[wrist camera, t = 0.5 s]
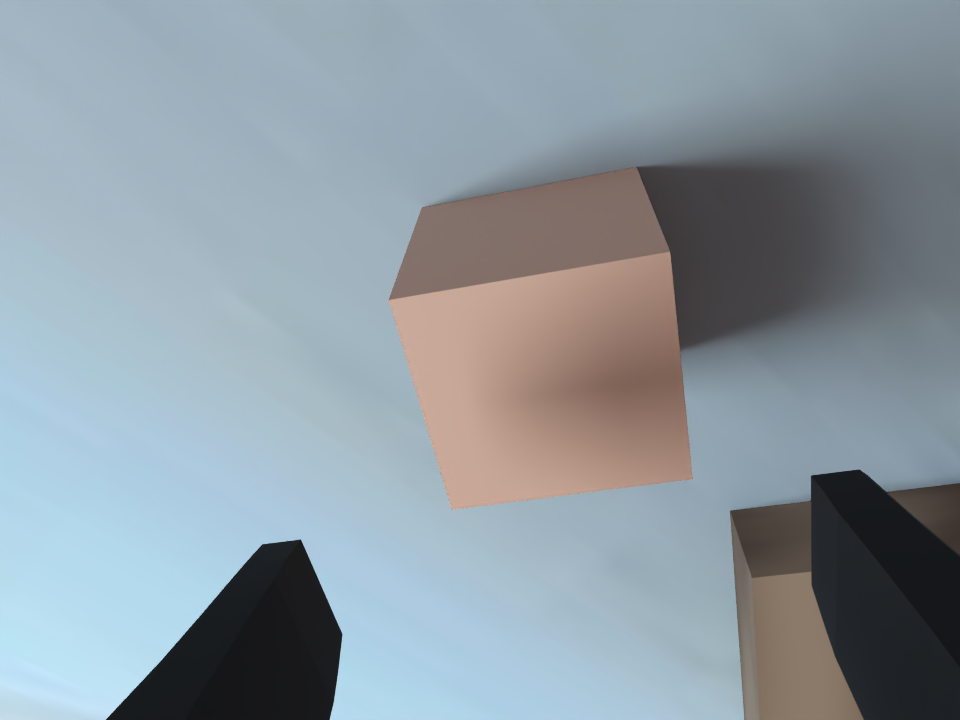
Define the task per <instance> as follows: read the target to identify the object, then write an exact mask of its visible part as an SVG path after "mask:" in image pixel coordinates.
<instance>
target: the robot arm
mask: <svg viewBox="0 0 960 720" xmlns="http://www.w3.org/2000/svg"><path fill="white" fill-rule="evenodd" d="M811 585H812V588H813V592H814V595H815V598H816V601H817V604H818V607H819V610H820V613H821V616H822V620H823V623H824V626H825V629H826V632H827V635H828V637H829V640H830V643H831V646H832V649H833V652H834V655H835V658H836V660H837V662H838V664H839V667H840V669H841V671H842V673H843V676H844V678H845V680H846V682H847V684H848V686H849V689H850V691H851V693H852V695H853V697H854V700H855V702H856V704H857V706H858V708H859V710H860V713H861V715H862V717H863V719H864V720H960V555H959V554H958V553H957V552H955V551H954V550H953V549H952V548H951V547H949V546H948V545H947V544H946V543H945V542H943V541H942V540H941V539H940V538H939V537H937V536H936V535H935V534H934V533H933V532H932V531H930V530H929V529H928V528H927V527H926V526H925V525H923V524H922V523H921V522H920V521H919V520H918V519H916V518H915V517H914V516H913V515H912V514H911V513H910V512H908V511H907V510H906V509H905V508H904V507H903V506H902V505H900V504H899V503H898V502H897V501H896V500H895V499H894V498H892V497H891V496H890V495H889V494H888V493H887V492H886V491H885V490H883V489H882V488H881V487H880V486H879V485H878V484H877V483H876V482H874V481H873V480H872V479H871V478H870V477H869V476H868V475H866V474H865V473H864V472H862V471H861V470H852V471H844V472H836V473H828V474H820V475H812V476H811ZM341 642H342V632H341V630H340V628H339V626H338V623H337V621H336V619H335V616H334V614H333V612H332V610H331V607H330V605H329V603H328V600H327V598H326V596H325V594H324V591H323V589H322V587H321V584H320V582H319V580H318V578H317V575H316V573H315V571H314V568H313V566H312V564H311V562H310V559H309V557H308V555H307V552H306V550H305V548H304V546H303V543H302V541H301V540H294V541H286V542H278V543H270V544H262V546H261V547H260V548H259V549H258V550H257V551H256V552H255V553H254V554H253V555H252V556H251V558H250V559H249V560H248V561H247V562H246V563H245V564H244V565H243V567H242V568H241V569H240V570H239V571H238V572H237V574H236V575H235V576H234V577H233V578H232V579H231V581H230V582H229V583H228V584H227V585H226V586H225V588H224V589H223V590H222V591H221V592H220V593H219V595H218V596H217V597H216V598H215V599H214V601H213V602H212V603H211V604H210V605H209V606H208V608H207V609H206V610H205V611H204V612H203V613H202V615H201V616H200V617H199V618H198V619H197V620H196V621H195V623H194V624H193V625H192V626H191V627H190V628H189V630H188V631H187V632H186V633H185V634H184V635H183V636H182V638H181V639H180V640H179V641H178V642H177V643H176V644H175V646H174V647H173V648H172V649H171V650H170V651H169V652H168V654H167V655H166V656H165V657H164V658H163V659H162V660H161V662H160V663H159V664H158V665H157V666H156V667H155V668H154V669H153V670H152V671H151V672H150V673H149V674H148V675H147V677H146V678H145V679H144V680H143V681H142V682H141V683H140V684H139V685H138V686H137V687H136V688H135V689H134V690H133V691H132V692H131V694H130V695H129V696H128V697H127V698H126V699H125V700H124V701H123V702H122V703H121V704H120V705H119V706H118V707H117V708H116V710H115V711H114V712H113V713H112V714H111V715H110V716H109V717H108V718H107V719H106V720H329V719H330V715H331V711H332V707H333V703H334V696H335V689H336V682H337V675H338V668H339V659H340V650H341Z"/></svg>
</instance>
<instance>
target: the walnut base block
mask: <svg viewBox="0 0 960 720" xmlns="http://www.w3.org/2000/svg"><path fill="white" fill-rule="evenodd" d="M887 493H888V494H889V495H890V496H891V497H892V498H894V499H895V500H896V501H897V502H898V503H899V504H900V505H902V506H903V507H904V508H905V509H906V510H907V511H908V512H910V513H911V514H912V515H913V516H914V517H915V518H916V519H918V520H919V521H920V522H921V523H922V524H923V525H925V526H926V527H927V528H928V529H929V530H930V531H932V532H933V533H934V534H935V535H936V536H937V537H939V538H940V539H941V540H942V541H943V542H945V543H946V544H947V545H948V546H949V547H951V548H952V549H953V550H954V551H955V552H957V553H958V554H959V555H960V483H959V484H950V485H942V486H934V487H925V488H917V489H908V490H900V491H892V492H887ZM730 518H731V532H732V546H733V561H734V575H735V590H736V604H737V619H738V633H739V647H740V662H741V676H742V691H743V705H744V720H864V719H863V717H862V715H861V713H860V710H859V708H858V706H857V704H856V702H855V700H854V697H853V695H852V693H851V691H850V689H849V686H848V684H847V682H846V680H845V678H844V676H843V673H842V671H841V669H840V667H839V664H838V662H837V660H836V658H835V655H834V652H833V649H832V646H831V643H830V640H829V637H828V635H827V632H826V629H825V626H824V623H823V620H822V616H821V613H820V610H819V607H818V604H817V601H816V598H815V595H814V592H813V588H812V585H811V501H808V502H800V503H791V504H783V505H775V506H766V507H758V508H750V509H741V510H733V511H730Z"/></svg>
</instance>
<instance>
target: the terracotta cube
mask: <svg viewBox="0 0 960 720" xmlns="http://www.w3.org/2000/svg"><path fill="white" fill-rule="evenodd" d="M389 303H390V306H391V309H392V313H393V316H394V319H395V323H396V326H397V329H398V333H399V336H400V339H401V343H402V346H403V349H404V353H405V356H406V359H407V362H408V366H409V369H410V372H411V376H412V379H413V382H414V386H415V389H416V392H417V396H418V399H419V402H420V406H421V409H422V412H423V416H424V419H425V422H426V426H427V429H428V432H429V435H430V439H431V442H432V445H433V449H434V452H435V455H436V459H437V462H438V465H439V469H440V472H441V475H442V479H443V482H444V485H445V489H446V492H447V495H448V499H449V502H450V505H451V508H452V509H460V508H468V507H476V506H484V505H492V504H500V503H508V502H516V501H524V500H531V499H539V498H547V497H555V496H563V495H571V494H579V493H587V492H595V491H603V490H610V489H618V488H626V487H634V486H642V485H650V484H658V483H666V482H674V481H682V480H689V479H693V477H692V467H691V457H690V447H689V437H688V427H687V417H686V407H685V396H684V386H683V376H682V366H681V356H680V346H679V336H678V326H677V316H676V305H675V295H674V285H673V275H672V265H671V255H670V250H669V247H668V245H667V242H666V240H665V237H664V235H663V232H662V230H661V227H660V225H659V222H658V220H657V217H656V215H655V212H654V210H653V207H652V205H651V202H650V200H649V197H648V195H647V192H646V190H645V187H644V185H643V182H642V179H641V177H640V174H639V172H638V169H637V167H634V168H628V169H623V170H618V171H613V172H607V173H602V174H597V175H591V176H586V177H581V178H576V179H570V180H565V181H560V182H555V183H549V184H544V185H539V186H534V187H528V188H523V189H518V190H513V191H507V192H502V193H497V194H492V195H486V196H481V197H476V198H471V199H465V200H460V201H455V202H450V203H444V204H439V205H434V206H428V207H423V208H422V209H421V212H420V214H419V217H418V220H417V223H416V225H415V228H414V231H413V234H412V237H411V239H410V242H409V245H408V248H407V251H406V253H405V256H404V259H403V262H402V264H401V267H400V270H399V273H398V276H397V278H396V281H395V284H394V287H393V290H392V292H391V295H390V298H389Z"/></svg>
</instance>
